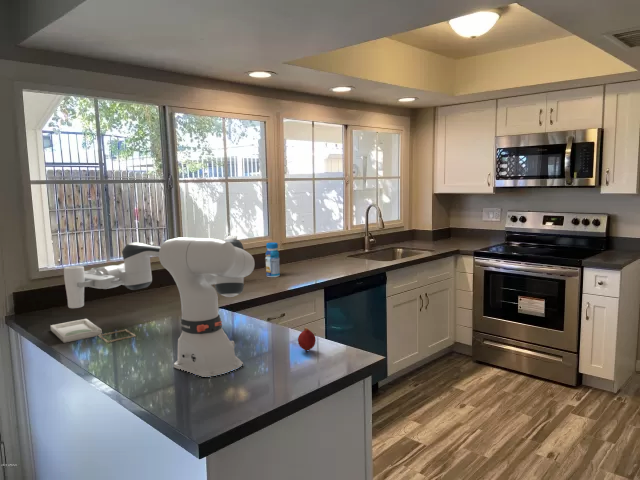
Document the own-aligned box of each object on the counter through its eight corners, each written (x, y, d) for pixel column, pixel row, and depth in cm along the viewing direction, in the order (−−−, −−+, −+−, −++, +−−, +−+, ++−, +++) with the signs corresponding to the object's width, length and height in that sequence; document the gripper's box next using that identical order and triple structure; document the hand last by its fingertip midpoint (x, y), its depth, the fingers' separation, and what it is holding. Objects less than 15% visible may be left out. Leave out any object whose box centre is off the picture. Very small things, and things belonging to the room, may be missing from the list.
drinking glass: (63, 309, 172) (61, 268, 171) (68, 305, 179) (66, 266, 177) (84, 308, 174) (82, 268, 172) (88, 304, 180) (85, 265, 179)
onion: (306, 346, 160) (305, 323, 159) (319, 350, 157) (318, 327, 156) (294, 351, 156) (294, 328, 155) (307, 355, 152) (307, 331, 151)
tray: (102, 334, 177) (101, 329, 177) (63, 342, 169) (63, 337, 169) (86, 323, 192) (86, 318, 192) (50, 330, 184) (50, 325, 184)
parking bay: (136, 336, 175) (135, 335, 175) (107, 342, 168) (107, 341, 168) (126, 330, 182) (126, 329, 182) (98, 336, 176) (98, 335, 176)
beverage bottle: (277, 277, 278) (276, 244, 276) (264, 277, 280) (262, 243, 277) (281, 274, 286) (280, 242, 284) (268, 274, 288) (267, 242, 286)
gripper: (123, 288, 181) (88, 295, 169) (93, 282, 192) (58, 289, 181) (122, 271, 180) (87, 278, 168) (92, 267, 191) (57, 273, 180)
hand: (72, 284), depth 175 cm, fingers closed on drinking glass, 6 cm apart
